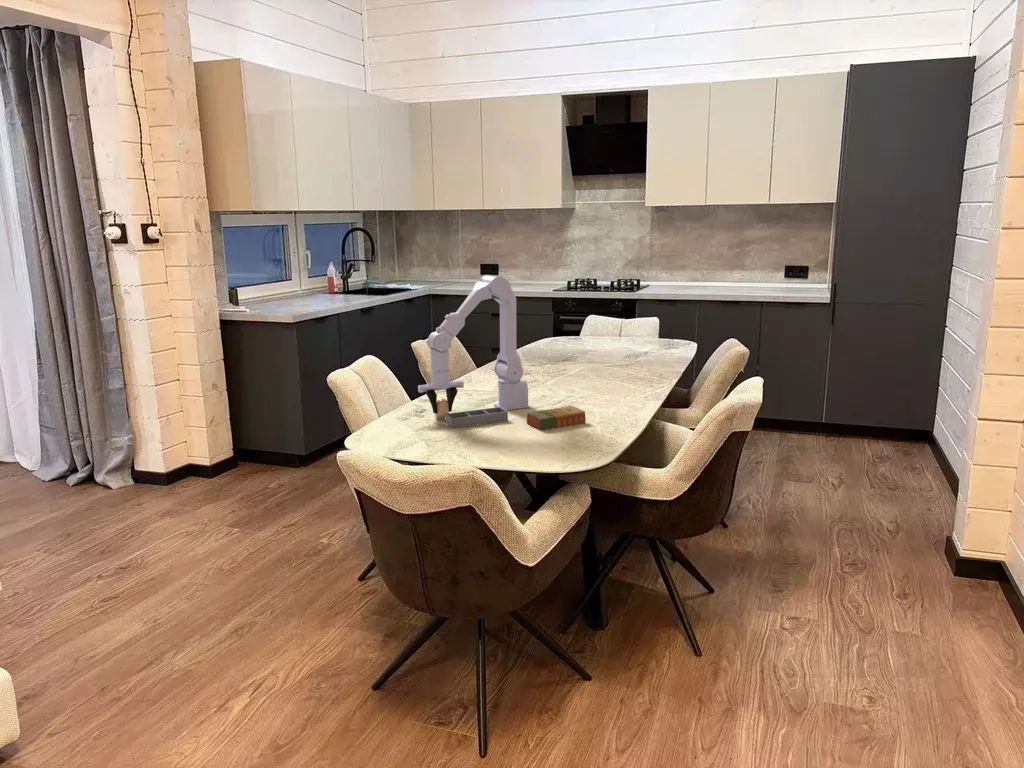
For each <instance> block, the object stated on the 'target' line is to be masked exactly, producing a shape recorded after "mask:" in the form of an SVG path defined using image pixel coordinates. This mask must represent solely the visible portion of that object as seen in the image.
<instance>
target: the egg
mask: <svg viewBox="0 0 1024 768" xmlns="http://www.w3.org/2000/svg"><path fill="white" fill-rule="evenodd" d="M449 413H450V412H449V404H448V402H447V399H445V398H439V399H437V413H436V414H435V419H438V420H446V419H445V418H446V417H445V414H449Z"/></svg>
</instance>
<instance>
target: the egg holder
mask: <svg viewBox="0 0 1024 768" xmlns="http://www.w3.org/2000/svg"><path fill="white" fill-rule="evenodd" d="M445 417H446V419H445V424H446V423H447V424H448V425H447V424H446V425H447V426H448V427H449V428H451V427H452V428H451V429H456V428H455V427H459V428H463V427H462V426H467V427H470V426H469V425H474V426H478V425H477V424H481V425H486V424H485V423H488V424H494V423H493V422H496V423H502V422H501V421H503V422H508V421H509V410H504V409H503V408H501V407H496V406H495V407H489V408H487V407H486V408H481V409H473V410H466V411H457V412H449V414H445Z"/></svg>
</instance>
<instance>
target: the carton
mask: <svg viewBox="0 0 1024 768" xmlns="http://www.w3.org/2000/svg"><path fill="white" fill-rule="evenodd" d="M526 424H528V425H527V426H529V425H530V427H531V426H532V427H531V428H533V427H534V428H533V429H535V428H536V430H537V429H538V430H537V431H539V430H542V431H547V430H546V429H548V430H552V428H554V429H559V427H560V428H565V427H564V426H566V427H570V425H572V426H577V425H582V424H586V411H584V410H583V409H580V408H578V407H576V406H573V405H567V406H561V407H556V408H549V409H545V410H538V411H531V412H527V414H526Z"/></svg>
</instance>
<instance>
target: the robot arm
mask: <svg viewBox="0 0 1024 768" xmlns="http://www.w3.org/2000/svg"><path fill="white" fill-rule="evenodd" d="M489 299H493V300H494V301H496V302H497V303H498V304H499V352H498V354H497V356H496V362H495V365H494V369H493V370H494V373H495V375H496V376H497V387H498V388H497V389H498V403H495V404H494V406H495V407H501V408H503V409H504V410H506V411H509V410H510V411H511V410H519V409H526V408H530V406H529V387H528V386H529V385H528V382H527V381H526V380H525V379H522V378H523V375H524V368H523V366H522V360H521V357H520V356H519V354H518V352H517V296H516V295H515V293H514V290H513V288H512V286H511V282H510V281H509V280H507V279H506V278H505V277H503V276H499V275H498V276H497V275H490V274H485V275H483V276H481V278H480V279H479V281H477V282H476V283H475V284H474V287H473V289H472V290H471V291H470V293H469V294H468V295H467V297H466V298H465V300H464V301H463V303H461V305H460V306H459V308H458V309H457V310H456V312H450V313H449V314H446V315H445V316H444V318H445V319H444V320H443V322H442V323H441V324H440V325H439V326H438V327H436V328H435V331H434V332H433V331H432V332H430V334H429V336H428V337H427V338H428V339H427V340H426V344H427V346H428V348H429V349H430V351H429V352H430V371H431V375H430V376H431V382H430V383H426V384H425V383H424V384H420V385H419V384H418V386H417V391H418V393H420V394H421V393H422V394H423V393H425V394H426V396H427V399H428V401H429V402H430V405H431V408H432V409H431V410H432V413H434V414H435V415H436V413H437V401H438V399H437V398H438V394H437V392H436V391H443V390H445V394H446V400H447V402H448V404H449V413H452V411H453V404H454V401H455V398H456V397H457V395H458V389H459V388H460V389H462V388H463V389H464V388H465V382H464V381H463V380H455V381H454V380H451V377H450V376H451V373H450V354H449V349H450V348H451V347H452V343H453V340H454V338H455V337H456V336H457V335H458V334H459V332H460V331H461V330H462V329H463V328H464V326H465V325H466V323H465V322H466V321H465V320H466V318H467V317H468V316H469V315H470V314H471V312H472V311H474V309H475V308H476V307H477V306H478V305H479V304H480V303H481V301H485V300H489Z"/></svg>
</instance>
